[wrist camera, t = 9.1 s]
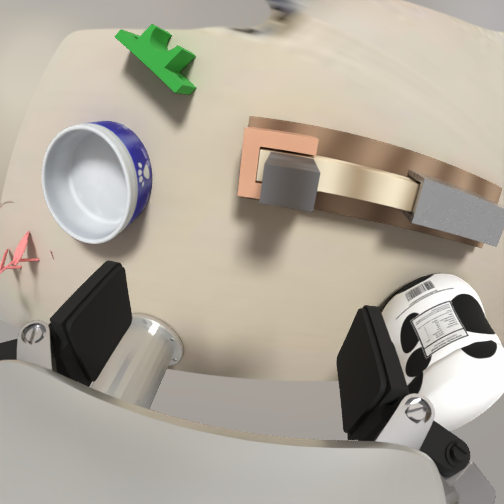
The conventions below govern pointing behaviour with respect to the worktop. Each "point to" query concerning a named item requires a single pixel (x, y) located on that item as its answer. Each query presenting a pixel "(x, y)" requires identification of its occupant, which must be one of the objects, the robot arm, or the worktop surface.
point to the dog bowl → (96, 180)
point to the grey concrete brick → (456, 210)
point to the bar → (328, 181)
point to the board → (382, 159)
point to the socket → (269, 139)
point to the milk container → (446, 347)
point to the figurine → (17, 255)
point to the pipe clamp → (160, 56)
